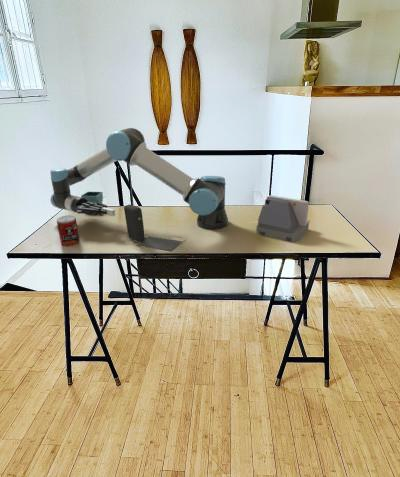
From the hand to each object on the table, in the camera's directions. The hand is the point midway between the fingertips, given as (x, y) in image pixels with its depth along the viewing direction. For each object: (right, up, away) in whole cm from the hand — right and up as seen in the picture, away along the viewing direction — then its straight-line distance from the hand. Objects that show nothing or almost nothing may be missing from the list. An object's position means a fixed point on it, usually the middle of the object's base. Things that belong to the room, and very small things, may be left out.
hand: (113, 213), depth 152 cm
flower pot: (-20, +4, +37) cm, 42 cm away
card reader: (+11, -12, -2) cm, 16 cm away
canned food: (-18, -13, -3) cm, 22 cm away
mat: (+21, -13, -6) cm, 26 cm away
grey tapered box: (+75, -8, +6) cm, 76 cm away
